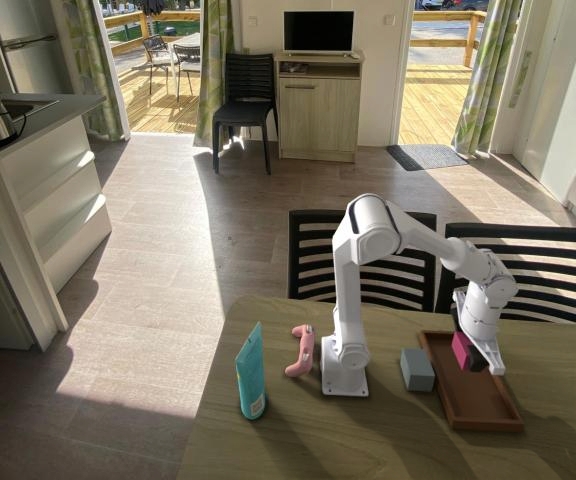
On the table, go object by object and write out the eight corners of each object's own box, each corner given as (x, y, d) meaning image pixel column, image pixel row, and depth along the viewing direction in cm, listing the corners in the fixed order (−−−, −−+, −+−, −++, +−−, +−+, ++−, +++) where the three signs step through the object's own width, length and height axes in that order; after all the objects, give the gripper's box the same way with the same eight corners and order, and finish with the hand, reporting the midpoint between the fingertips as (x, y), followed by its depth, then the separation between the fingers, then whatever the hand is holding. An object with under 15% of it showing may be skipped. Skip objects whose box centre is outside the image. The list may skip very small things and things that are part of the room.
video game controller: (301, 386, 64) (316, 371, 62) (282, 376, 64) (297, 360, 62) (307, 338, 73) (320, 323, 71) (291, 328, 73) (304, 313, 71)
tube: (252, 378, 64) (248, 315, 58) (272, 389, 62) (270, 325, 56) (232, 420, 58) (226, 354, 52) (254, 434, 56) (249, 368, 50)
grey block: (407, 390, 62) (410, 375, 61) (399, 362, 67) (402, 347, 66) (431, 391, 62) (435, 376, 61) (422, 363, 67) (425, 348, 65)
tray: (451, 428, 57) (453, 420, 56) (419, 337, 72) (420, 329, 71) (521, 432, 56) (524, 424, 55) (474, 339, 72) (476, 332, 71)
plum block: (462, 370, 60) (466, 355, 59) (451, 345, 64) (455, 331, 63) (484, 371, 60) (489, 356, 59) (472, 346, 64) (476, 332, 63)
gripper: (529, 352, 51) (511, 401, 55) (480, 277, 64) (468, 321, 69) (487, 350, 51) (472, 399, 55) (447, 275, 65) (438, 319, 69)
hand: (468, 356), depth 62 cm, fingers closed on plum block, 4 cm apart
